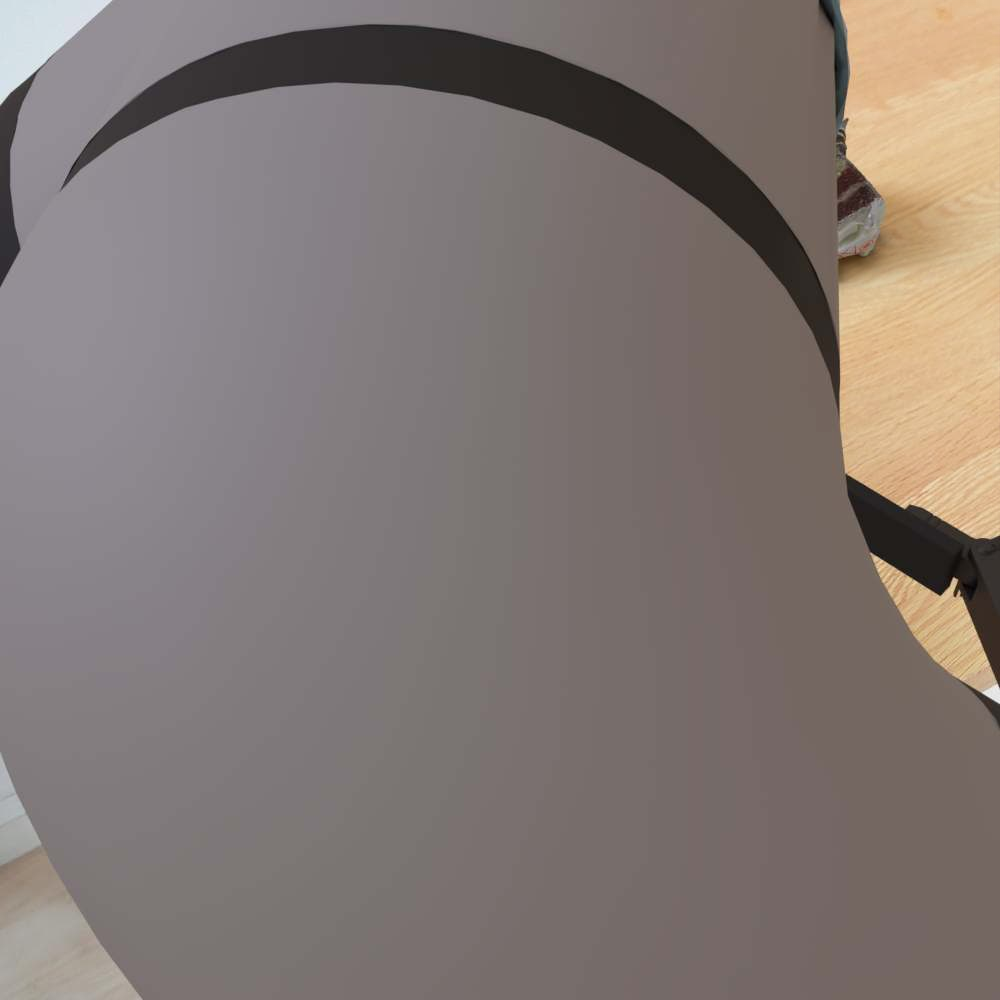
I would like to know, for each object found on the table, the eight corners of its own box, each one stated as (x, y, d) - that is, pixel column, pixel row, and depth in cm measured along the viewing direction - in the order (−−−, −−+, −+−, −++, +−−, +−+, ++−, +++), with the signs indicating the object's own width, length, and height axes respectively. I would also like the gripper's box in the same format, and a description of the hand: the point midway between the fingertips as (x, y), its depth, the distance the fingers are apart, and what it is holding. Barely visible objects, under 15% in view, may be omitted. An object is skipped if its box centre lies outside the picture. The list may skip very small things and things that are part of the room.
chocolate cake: (756, 321, 90) (906, 182, 86) (687, 240, 92) (831, 101, 88) (799, 337, 98) (938, 212, 94) (735, 263, 101) (868, 137, 96)
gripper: (999, 1219, 47) (523, 818, 57) (1318, 743, 59) (879, 481, 69) (1066, 1140, 41) (525, 711, 51) (1403, 633, 53) (913, 365, 63)
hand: (727, 579), depth 60 cm, fingers open, 13 cm apart
